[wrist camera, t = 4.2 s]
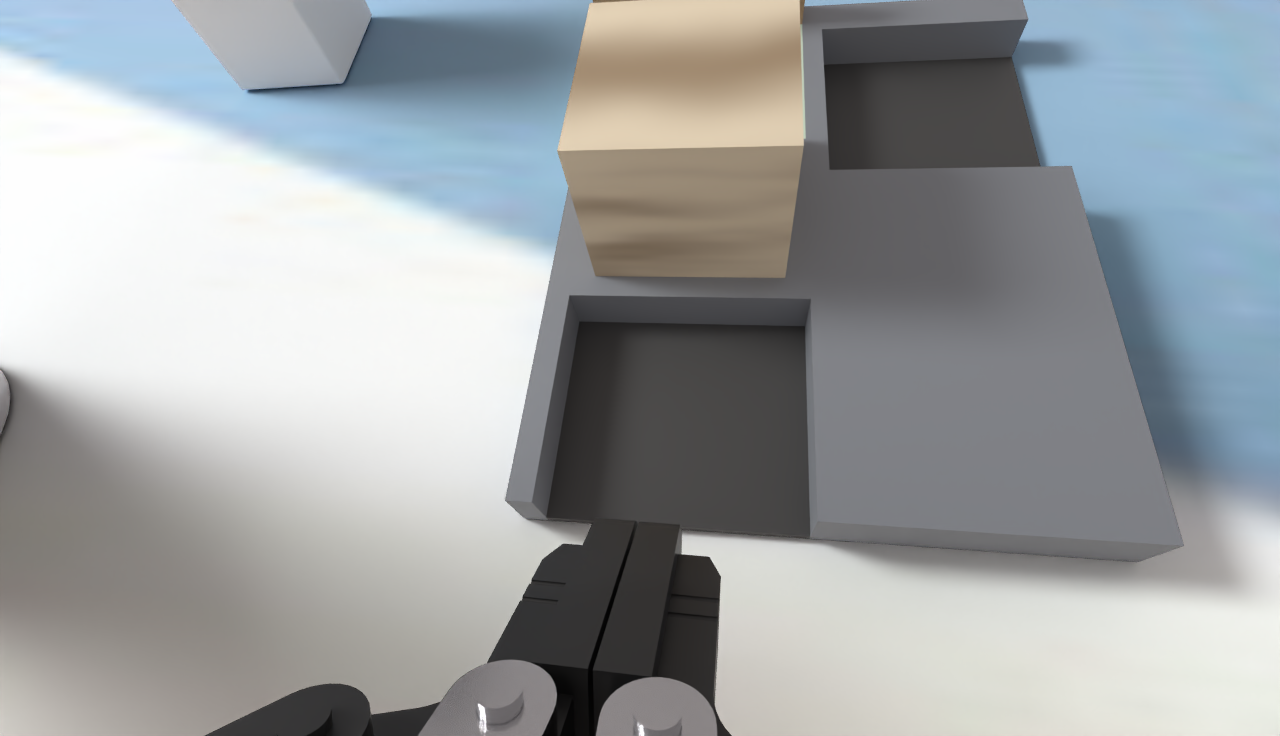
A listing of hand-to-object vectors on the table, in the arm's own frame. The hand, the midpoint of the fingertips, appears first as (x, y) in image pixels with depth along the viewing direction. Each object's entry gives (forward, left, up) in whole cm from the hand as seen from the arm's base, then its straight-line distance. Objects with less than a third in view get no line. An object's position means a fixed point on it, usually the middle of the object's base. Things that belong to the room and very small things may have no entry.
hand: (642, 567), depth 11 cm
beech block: (+17, +7, -10) cm, 21 cm away
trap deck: (+18, +2, -13) cm, 22 cm away
